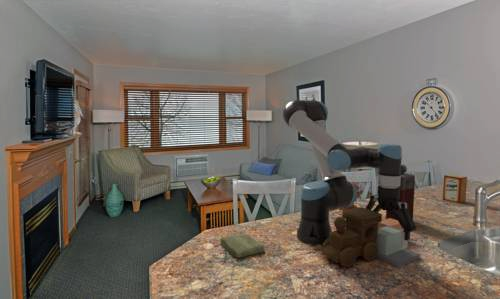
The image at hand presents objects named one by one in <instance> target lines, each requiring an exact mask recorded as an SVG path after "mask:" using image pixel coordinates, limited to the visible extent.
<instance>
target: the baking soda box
mask: <svg viewBox="0 0 500 299" xmlns="http://www.w3.org/2000/svg"><path fill="white" fill-rule="evenodd" d="M467 184H468V176H465V175H464V176H463V175H459V174H458V175H457V174H446V175H443V188H442V189H443V190H442V192H443V193H442V200H443V201H446V202H450V203H454V204H460V205H461V204H464V203H466V200H467V199H466V198H467V186H468V185H467Z"/></svg>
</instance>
